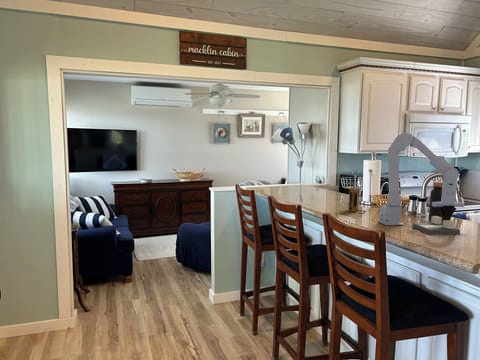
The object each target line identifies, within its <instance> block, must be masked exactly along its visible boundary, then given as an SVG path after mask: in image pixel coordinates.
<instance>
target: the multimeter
mask: <svg viewBox="0 0 480 360" xmlns="http://www.w3.org/2000/svg"><path fill="white" fill-rule="evenodd" d="M352 182H353V185H352ZM356 183H357V185H359V183H358V179H357V177H354V176H352V179H351V183H350V187H349V194H348V195H349V197H348V199H349V200H348V203H347V205H348V207H347V209H348V211H350V212H351V213H358V212H359V211H360V212H359V214H360V215H362V214H365V213H366V212H367V213H369V211H366V210H363V209H362V210H361V209H359V205H358V204H359V199H360V198H359V197H360V189H359V187H357V188H356Z"/></svg>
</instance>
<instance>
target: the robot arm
mask: <svg viewBox="0 0 480 360" xmlns="http://www.w3.org/2000/svg"><path fill="white" fill-rule="evenodd" d="M407 147H410V148H414V149H417V150H418V152H420V153H421V154H422V155H424V156H425V157H426V158H427V159H429V165H431V166H432V167H433V168H434V169H435V170H436V171H437V172H438V173H440V174H441V176H442V177H443V181H442V182H443V185H442V198H441V202H432V206H433V207H439V208H440V210H441V212H442V215H443V219H444V220H452V217H453V214H454V213H455V212H456V211H457V208H459V207H461V208H465V202H463V201H462V202H461V201H456V199H457V198H456V197H457V188H458V183H457V182H458V178H459V176H460V173H459V170H458V169H457V168H455V167H454V164H452V163H450V162H448V161H447V160H446V159H445V158H446V157H445V156H444V155H441V154H435V153H434V152H433V151H432V150H431V149H430V148H428V146H427V145H425V144H424V143H423V142H422V140H420V139H419V138H417V137H416V136H414V135H413V134H412V133H410V132H409V131H407V132H402V133H400V134H398V135H397V136H396V137H395V138H394V139H393V140H392V142H391V144H390V145H389V147H388V149H387V155H388V156H387V158H388V162H387V164H388V165H387V166H388V193H387V195H386V199H387V202H386V203H385V205H381V206H380V207H379V215H378V216H379V217H378V220H377V221H378V222H379V223H381V224H382V225H384V226H404V225H405V223H403V222H401V221H402V210H403V209H402V207H403V206H402V201H403V197H402V195H401V194H400V169H399V161H400V160H399V153H400V152H401V151H402V150H404V149H405V148H407Z"/></svg>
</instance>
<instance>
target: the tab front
mask: <svg viewBox="0 0 480 360" xmlns="http://www.w3.org/2000/svg"><path fill="white" fill-rule="evenodd" d="M455 223H456V222H455V221H453V220H452V219H450V220H444V221H443V227H445V228H447V229H454V228H455Z"/></svg>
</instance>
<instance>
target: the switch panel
mask: <svg viewBox="0 0 480 360" xmlns="http://www.w3.org/2000/svg"><path fill="white" fill-rule="evenodd" d="M443 224H444V222H441V224H434V223H431V222H413V223H412V228H414V229H416V230H418V231H420V232H423V233H425V234H427V235H460V234H461V229H459V228H456V227H454V229H447V228H445V227H443Z"/></svg>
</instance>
